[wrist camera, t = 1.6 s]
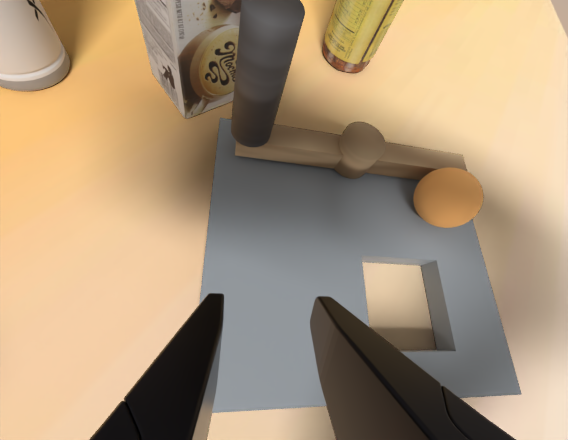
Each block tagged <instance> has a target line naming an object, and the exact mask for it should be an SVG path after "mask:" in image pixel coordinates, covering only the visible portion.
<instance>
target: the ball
mask: <svg viewBox="0 0 568 440" xmlns="http://www.w3.org/2000/svg"><path fill="white" fill-rule="evenodd" d="M413 201H414V206H415V209H416V211H417V213H418V214H419V216H420V217H421V218H422V219H423V220H424V221H426V222H427V223H429V224H431V225H434V226H437V227H442V228H452V227H457V226H460V225H463V224H465V223H467V222H469V221H470V220H471V219H473V218H474V217H475V216H476V214H477V213H478V212H479V210H480V208H481V206H482V203H483V190H482V187H481V185H480V183H479V181H478V180H477V179H476V178H475V177H474V176H473V175H472V174H470V173H469V172H467V171H465V170H462V169H459V168H451V167H448V168H441V169H437V170H434V171H432V172H430V173H429V174H427V175H426V176H424V177H423V178H422V179H421V180H420V182H419V183H418V185H417V186H416V188H415V191H414V197H413Z"/></svg>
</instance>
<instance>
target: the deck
mask: <svg viewBox="0 0 568 440" xmlns="http://www.w3.org/2000/svg"><path fill="white" fill-rule="evenodd" d="M231 121H232V120H231V119H225V118H220V122H219V132H218V141H217V150H216V159H215V168H214V177H213V186H212V195H211V204H210V213H209V222H208V231H207V240H206V249H205V258H204V267H203V276H202V286H201V295H200V303H201V302H202V301H203V300H204V298H205V297H206V296H207V295H208V294H209V293H222V294H224V320H223V331H222V341H221V351H220V361H219V371H218V380H217V388H216V394H215V399H214V405H213V410H212V413H218V412H234V411H251V410H268V409H284V408H301V407H318V406H327V405H326V402H325V398H324V395H323V391H322V388H321V384H320V380H319V375H318V370H317V364H316V358H315V352H314V347H313V341H312V335H311V329H310V317H311V313H312V309H313V305H314V301H315V299H316V297H318V296H329V297H332V298H333V299H334V300H336V301H337V302H338V303H339V304H341V305H342V306H343V307H344V308H346V309H347V310H348V311H350V312H351V313H352V314H353V315H355V316H356V317H357V318H358V319H360V320H361V321H362V322H363V323H365V324H366V325H367V326H369V320H368V311H367V302H366V293H365V284H364V275H363V266H362V262H369V263H386V264H403V265H420V266H421V269H422V275H423V280H424V285H425V290H426V295H427V301H428V306H429V311H430V316H431V322H432V327H433V332H434V337H435V343H436V348H437V350H399V351H400V352H402V353H403V354H404V355H405V356H407V357H408V358H409V359H411V360H412V361H413V362H414V363H416V364H417V365H418V366H419V367H421V368H422V369H423V370H425V371H426V372H427V373H428V374H430V375H431V376H432V377H433V378H435V379H436V380H437V381H439V382H440V384H441V386H445V387H446V388H448V389H449V390H450V391H451V392H453V393H454V394H455V395H456V396H458V397H459V398H468V397H485V396H501V395H518V394H521V391H520V387H519V383H518V380H517V376H516V373H515V369H514V366H513V362H512V359H511V355H510V351H509V348H508V344H507V341H506V337H505V334H504V330H503V326H502V323H501V319H500V316H499V312H498V309H497V305H496V302H495V298H494V294H493V291H492V287H491V284H490V280H489V277H488V273H487V270H486V266H485V262H484V259H483V255H482V252H481V248H480V245H479V241H478V238H477V234H476V230H475V227H474V223H473V220H472V219H471V220H470V221H469V222H467V223H465V224H463V225H460V226H457V227H452V228H442V227H437V226H434V225H431V224H429V223H427V222H426V221H424V220H423V219H422V218H421V217H420V216H419V214H418V213H417V211H416V209H415V206H414V201H413V197H414V191H415V188H416V186H417V185H418V183H419V182H420V180H415V179H408V178H400V177H393V176H385V175H378V174H370V173H365V174H364V175H363V176H362V177H360V178H356V179H350V178H346V177H343V176H342V175H340V174H339V173H337V172H336V171H335V169H333V168H325V167H318V166H310V165H303V164H295V163H288V162H280V161H273V160H265V159H258V158H250V157H243V156H236V155H235V148H236V140H235V139H234V137H233V136H232V133H231Z"/></svg>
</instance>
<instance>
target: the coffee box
mask: <svg viewBox="0 0 568 440" xmlns="http://www.w3.org/2000/svg"><path fill="white" fill-rule="evenodd" d="M135 4H136V8H137V12H138V16H139V20H140V24H141V28H142V32H143V36H144V40H145V44H146V48H147V53H148V57H149V61H150V65H151V70H152V73H153V75H154V77H155V78H156V79H157V81H158V82H159V84H160V85H161V86H162V88H163V89H164V90H165V92H166V93H167V95H168V96H169V97H170V99H171V100H172V102H173V103H174V104H175V106H176V107H177V109H178V110H179V111H180V113H181V114H182V115H183V117H184V118H187V119H188V118H191V117H193V116H196V115H198V114H201V113H204V112H206V111H209V110H211V109H214V108H216V107H219V106H221V105H224V104H226V103H229V102H231V101H233V97H234V84H235V72H236V60H237V48H238V36H239V24H240V12H241V0H135Z"/></svg>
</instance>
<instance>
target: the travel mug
mask: <svg viewBox="0 0 568 440" xmlns="http://www.w3.org/2000/svg"><path fill="white" fill-rule="evenodd" d="M69 67H70V59H69V56H68V54H67V52H66V50H65V48H64V46H63V45H62V43H61V41H60V40H59V37H58V35H57V33H56V31H55V29H54V27H53V25H52V23H51V22H50V20H49V18H48V16H47V14H46V12H45V10H44V8H43V6H42V4H41V2H40V1H39V0H0V86H1V87H3V88H6V89H11V90H16V91H35V90H41V89H45V88H48V87H51V86H53V85H55V84H57V83H58V82H60V81H61V80H62V79H63V78H64V77H65V76H66V74H67V73H68V71H69Z"/></svg>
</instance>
